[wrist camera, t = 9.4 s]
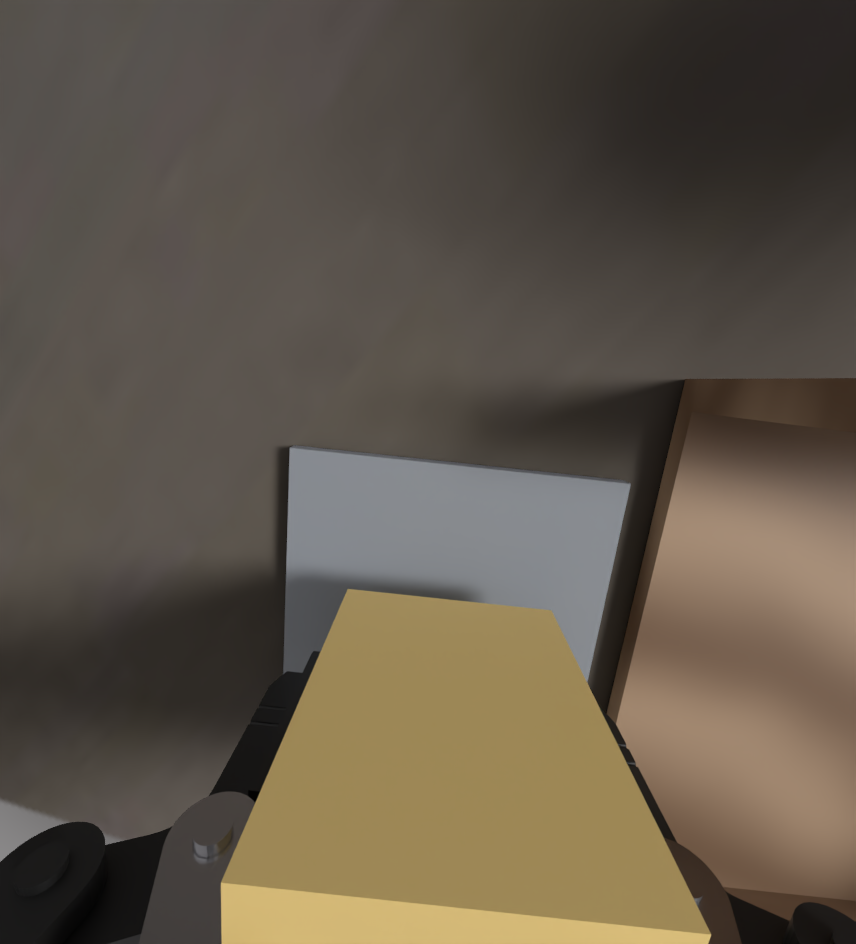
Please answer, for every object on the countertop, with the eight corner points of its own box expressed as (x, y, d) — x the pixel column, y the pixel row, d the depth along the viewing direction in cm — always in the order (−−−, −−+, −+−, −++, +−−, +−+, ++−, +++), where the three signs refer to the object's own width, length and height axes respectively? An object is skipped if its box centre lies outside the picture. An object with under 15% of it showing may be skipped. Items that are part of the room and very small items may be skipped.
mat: (294, 445, 11) (290, 447, 11) (624, 480, 11) (630, 483, 11) (284, 772, 14) (279, 784, 13) (554, 801, 14) (558, 814, 13)
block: (347, 589, 10) (220, 883, 4) (551, 610, 10) (711, 934, 4) (336, 756, 11) (224, 1174, 5) (520, 775, 11) (613, 1216, 5)
